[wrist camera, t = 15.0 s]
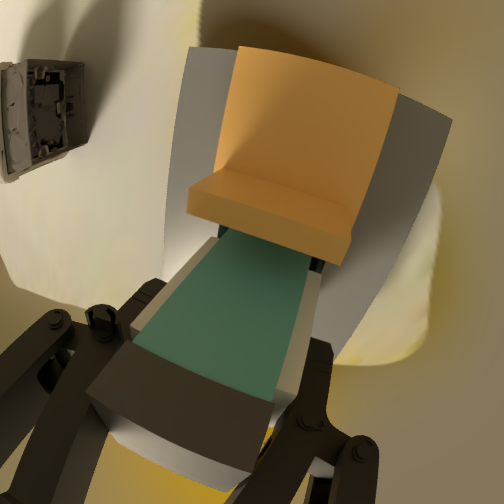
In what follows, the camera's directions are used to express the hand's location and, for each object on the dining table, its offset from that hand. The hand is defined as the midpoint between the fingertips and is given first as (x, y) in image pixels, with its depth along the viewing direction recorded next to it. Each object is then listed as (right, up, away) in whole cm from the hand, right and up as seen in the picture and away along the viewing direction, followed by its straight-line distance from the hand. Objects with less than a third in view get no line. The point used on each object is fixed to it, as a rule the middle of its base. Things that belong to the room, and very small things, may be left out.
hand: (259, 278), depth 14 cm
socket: (+2, +4, +4) cm, 6 cm away
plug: (+1, +1, +2) cm, 3 cm away
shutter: (+2, +6, -3) cm, 7 cm away
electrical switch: (-16, +14, +5) cm, 22 cm away
